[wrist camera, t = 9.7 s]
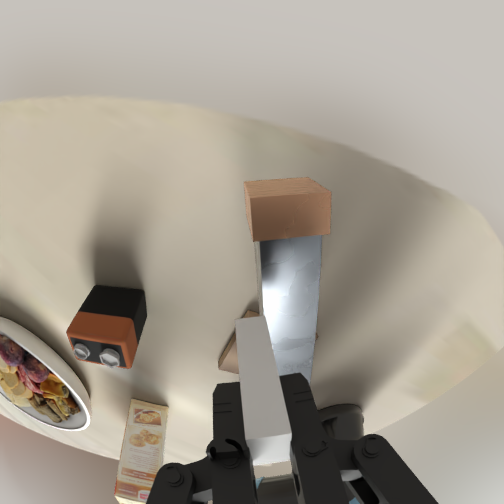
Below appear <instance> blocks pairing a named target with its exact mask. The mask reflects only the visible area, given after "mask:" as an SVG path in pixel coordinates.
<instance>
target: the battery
mask: <svg viewBox="0 0 504 504" xmlns="http://www.w3.org/2000/svg"><path fill="white" fill-rule="evenodd" d="M146 318H147V313H146V305H145V297H144V292H143V290H139V289H128V288H118V287H108V286H98V285H96V286H94V287H93V289H92V290H91V292H90V293H89V295H88V296H87V298H86V300H85V301H84V303H83V304H82V306H81V307H80V309H79V311H78V312H77V314H76V316H75V317H74V319H73V321H72V322H71V324H70V326H69V327H68V329H67V331H66V333H67V336H68V339H69V341H70V344H71V347H72V349H73V352H74V354H75V357H76V358H77V359H78V360H82V361H86V362H91V363H97V364H102V365H107V366H109V367H111V368H113V367H120V368H127V369H129V368H131V367H132V364H133V361H134V357H135V354H136V350H137V347H138V344H139V340H140V337H141V334H142V331H143V327H144V324H145V321H146Z"/></svg>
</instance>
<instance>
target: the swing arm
mask: <svg viewBox="0 0 504 504" xmlns="http://www.w3.org/2000/svg"><path fill="white" fill-rule="evenodd" d="M244 189H245V202H246V214H247V220H248V223H249V227H250V231H251V235H252V239H253V242H254V244H255V258H256V272H257V285H258V299H259V313H260V316H265V317H266V321H267V325H268V330H269V334H270V339H271V343H272V348H273V352H274V357H275V361H276V365H277V370H278V374H279V376H281V375H288V374H293V373H299V372H300V373H301V374H302V375H303V376H304V377H305V378H306V379H307V380H308V383H309V386H310V379H311V371H312V363H313V354H314V345H315V335H316V325H317V313H318V300H319V286H320V269H321V247H322V235H325V234H330V222H331V192H330V191H329V190H327V189H326V188H324V187H322V186H321V185H319V184H318V183H316V182H315V181H313V180H312V179H310V178H308V177H304V178H287V179H272V180H259V181H248V182H244Z"/></svg>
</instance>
